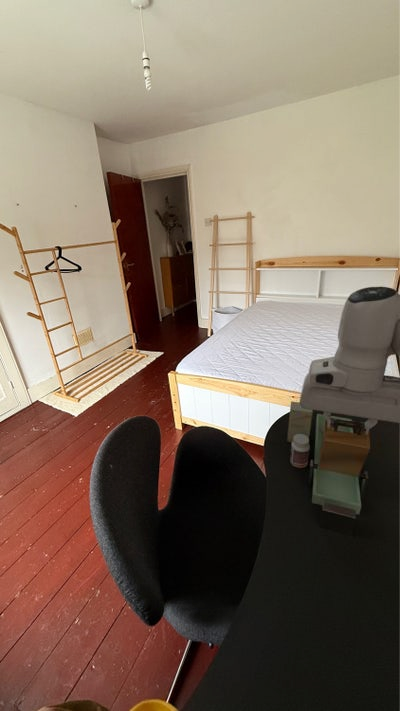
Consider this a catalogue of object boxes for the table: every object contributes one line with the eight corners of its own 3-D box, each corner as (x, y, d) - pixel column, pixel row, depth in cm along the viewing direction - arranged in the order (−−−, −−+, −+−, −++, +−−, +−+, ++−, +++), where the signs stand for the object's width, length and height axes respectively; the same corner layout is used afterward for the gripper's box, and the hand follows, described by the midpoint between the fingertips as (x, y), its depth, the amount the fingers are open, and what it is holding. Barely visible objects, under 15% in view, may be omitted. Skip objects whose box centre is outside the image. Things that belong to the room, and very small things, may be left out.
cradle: (367, 540, 62) (374, 518, 59) (305, 523, 67) (308, 501, 64) (362, 493, 73) (367, 471, 70) (308, 480, 77) (310, 459, 74)
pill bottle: (311, 464, 82) (314, 441, 78) (297, 470, 80) (299, 447, 77) (300, 453, 86) (302, 430, 82) (286, 458, 84) (288, 435, 81)
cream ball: (325, 439, 91) (326, 430, 93) (335, 436, 89) (335, 428, 91) (319, 433, 90) (319, 424, 92) (328, 430, 88) (328, 422, 90)
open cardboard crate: (373, 440, 58) (372, 416, 61) (326, 432, 61) (327, 409, 64) (357, 477, 70) (357, 455, 73) (318, 468, 73) (319, 448, 76)
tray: (359, 514, 68) (361, 506, 67) (311, 502, 71) (313, 494, 70) (350, 426, 94) (351, 419, 93) (316, 420, 98) (317, 413, 97)
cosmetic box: (287, 442, 90) (289, 409, 85) (288, 432, 94) (290, 400, 89) (309, 445, 88) (312, 412, 83) (309, 436, 92) (312, 403, 87)
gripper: (417, 371, 56) (400, 429, 62) (303, 360, 64) (298, 412, 70) (426, 388, 51) (407, 449, 57) (301, 374, 58) (296, 429, 64)
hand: (346, 429), depth 63 cm, fingers closed on open cardboard crate, 5 cm apart
